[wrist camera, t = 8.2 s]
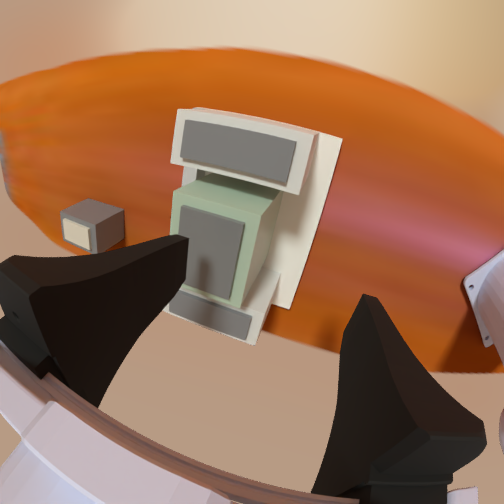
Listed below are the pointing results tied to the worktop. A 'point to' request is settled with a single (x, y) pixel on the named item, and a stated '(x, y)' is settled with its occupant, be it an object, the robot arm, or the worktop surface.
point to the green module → (224, 233)
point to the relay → (92, 225)
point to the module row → (264, 173)
